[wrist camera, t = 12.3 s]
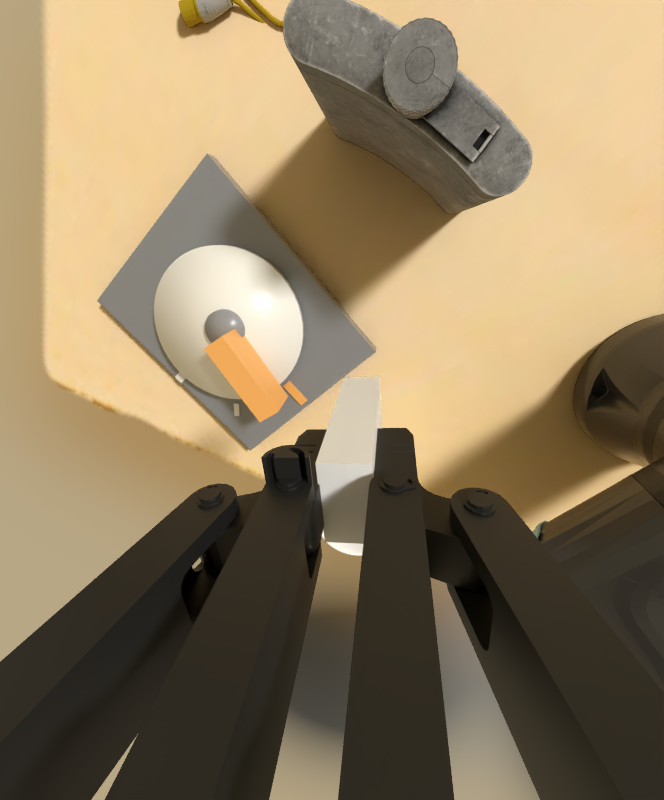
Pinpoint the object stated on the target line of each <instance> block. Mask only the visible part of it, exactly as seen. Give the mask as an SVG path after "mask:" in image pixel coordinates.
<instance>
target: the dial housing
mask: <svg viewBox="0 0 664 800" xmlns="http://www.w3.org/2000/svg"><path fill="white" fill-rule="evenodd" d="M210 245H230V246H237V247H240V248H244V249H247V250H249V251H252V252H254V253H256V254H258V255H260V256H261V257H263V258H264V259H266V260H268V261H269V262H270V263H271V264H272V265H274V266H275V267H276V268H277V269H278V270H279V271H280V272H281V273H282V274H283V275H284V277H285V278H286V279H287V281H288V282H289V284H290V285H291V287H292V289H293V290H294V292H295V294H296V296H297V299H298V301H299V303H300V307H301V310H302V314H303V320H304V342H303V347H302V351H301V354H300V357H299V359H298V362H297V363H296V365H295V367H294V369H293V370H292V371H291V373H290V374H289V375H288V377H287V378H286V379H285V380H284V381H283V382H282V383H281V384H280V386H281V387H282V388H283V390H284V391H285V392H286V394H287V395H288V398H287V399H286V401H285V402H284V404H283V405H282V407H281V408H280V410H279V411H278V412H277V413H276V414H274V415H272V416H270V417H269V418H267V419H265V420H263V421H262V422H259V421H258V420H257V418H256V417H255V416H254V414H253V413H252V412H251V410H250V409H249V408H248V406H247V405H246V404H245V403H244V401H243V400H242V399H229V398H224V397H220V396H216V395H213V394H211V393H208V392H206V391H204V390H202V389H201V388H199V387H197V386H195V385H194V384H193V383H191V382H190V381H189V380H187V379H186V378H185V377H184V376H183V375H182V374H181V373H180V372H179V371H178V370H177V369H176V368H175V366H174V365H173V364H172V362H171V361H170V360H169V358H168V357H167V355H166V353H165V351H164V350H163V347H162V345H161V343H160V341H159V337H158V334H157V331H156V326H155V321H154V300H155V295H156V291H157V288H158V285H159V282H160V280H161V278H162V276H163V274H164V273H165V271H166V270H167V269H168V267H169V266H170V265H171V264H172V263H173V262H174V261H175V260H176V259H177V258H179V257H180V256H182V255H183V254H185V253H187V252H189V251H191V250H193V249H196V248H199V247H203V246H210ZM97 301H98V302H99V303H100V304H101V305H102V306H103V307H104V308H105V309H106V310H107V311H108V312H109V313H110V314H111V315H112V316H113V317H114V318H115V319H116V320H117V321H118V322H119V323H120V324H121V325H122V326H123V327H124V328H126V329H127V330H128V331H129V332H130V333H131V334H132V335H133V336H134V337H135V338H136V339H137V340H138V341H139V342H140V343H141V344H142V345H143V346H144V347H145V348H146V349H147V350H148V351H149V352H150V353H151V354H152V355H153V356H154V357H155V358H156V359H157V360H158V361H159V362H160V363H161V364H162V365H163V366H164V367H165V368H166V369H167V370H168V371H170V372H171V373H172V374H173V375H174V376H175V378H176V379H177V380H178V381H179V382H180V383H182V384H183V385H184V386H185V387H186V388H187V389H188V390H189V391H190V392H191V393H192V394H193V395H194V396H195V397H196V398H197V399H198V400H199V401H200V402H201V403H202V404H203V405H204V406H205V407H206V408H207V409H208V410H209V411H210V412H211V413H212V414H214V415H215V416H216V417H217V418H218V419H219V420H220V421H221V422H222V423H223V424H224V425H225V426H226V427H227V428H228V429H229V430H230V431H231V432H232V433H233V434H234V435H235V436H236V437H237V438H238V439H239V440H240V441H241V442H242V443H243V444H244V445H245V446H246V447H247V448H248V449H249V450H252V449H253V448H254V447H256V446H257V445H258V444H259V443H261V442H262V441H263V440H264V439H266V438H267V437H268V436H269V435H271V434H272V433H273V432H275V431H276V430H277V429H278V428H280V427H281V426H282V425H283V424H285V423H286V422H287V421H288V420H290V419H291V418H292V417H294V416H295V415H296V414H297V413H299V412H300V411H301V410H302V409H304V408H305V407H306V406H308V405H309V404H310V403H311V402H313V401H314V400H315V399H316V398H318V397H319V396H320V395H321V394H323V393H324V392H325V391H327V390H328V389H329V388H330V387H332V386H333V385H334V384H335V383H337V382H338V381H339V380H340V379H342V378H343V377H344V376H346V375H347V374H348V373H349V372H351V371H352V370H353V369H354V368H356V367H357V366H358V365H360V364H361V363H362V362H363V361H365V360H366V359H367V358H368V357H370V356H371V355H372V354H373V353H375V352H376V347H375V346H374V345H373V343H372V342H371V341H370V340H369V339H368V338H367V336H366V335H365V334H364V333H363V332H362V331H361V329H360V328H359V327H358V326H357V325H356V323H355V322H354V321H353V320H352V319H351V318H350V316H349V315H348V314H347V313H346V312H345V310H344V309H343V308H342V307H341V306H340V305H339V303H338V302H337V301H336V300H335V299H334V297H333V296H332V295H331V294H330V293H329V292H328V290H327V289H326V288H325V287H324V286H323V284H322V283H321V282H320V281H319V280H318V279H317V277H316V276H315V275H314V274H313V273H312V271H311V270H310V269H309V268H308V267H307V266H306V264H305V263H304V262H303V261H302V260H301V258H300V257H299V256H298V255H297V254H296V253H295V251H294V250H293V249H292V248H291V247H290V246H289V244H288V243H287V242H286V241H285V240H284V238H283V237H282V236H281V235H280V234H279V233H278V231H277V230H276V229H275V228H274V227H273V225H272V224H271V223H270V222H269V221H268V220H267V218H266V217H265V216H264V215H263V214H262V212H261V211H260V210H259V209H258V208H257V207H256V205H255V204H254V203H253V202H252V201H251V199H250V198H249V197H248V196H247V195H246V194H245V192H244V191H243V190H242V189H241V188H240V186H239V185H238V184H237V183H236V182H235V181H234V179H233V178H232V177H231V176H230V175H229V173H228V172H227V171H226V170H225V169H224V168H223V166H222V165H221V164H220V163H219V162H218V161H217V159H216V158H215V157H214V156H211V155H209V154H206V156H205V157H204V158H203V160H202V161H201V162H200V164H199V165H198V166H197V168H196V169H195V170H194V172H193V173H192V174H191V176H190V177H189V179H188V180H187V181H186V183H185V184H184V185H183V187H182V188H181V189H180V191H179V192H178V193H177V195H176V196H175V197H174V199H173V200H172V201H171V203H170V204H169V205H168V207H167V208H166V209H165V211H164V212H163V213H162V215H161V216H160V217H159V219H158V220H157V221H156V223H155V224H154V225H153V227H152V228H151V229H150V231H149V232H148V233H147V235H146V236H145V237H144V239H143V240H142V241H141V243H140V244H139V245H138V247H137V248H136V249H135V251H134V252H133V253H132V255H131V256H130V257H129V259H128V260H127V261H126V263H125V264H124V265H123V267H122V268H121V269H120V271H119V272H118V273H117V275H116V276H115V277H114V279H113V280H112V282H111V283H110V284H109V286H108V287H107V288H106V290H105V291H104V292H103V294H102V295H101V296H100V298H99V299H98V300H97Z"/></svg>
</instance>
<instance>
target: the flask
mask: <svg viewBox="0 0 664 800" xmlns="http://www.w3.org/2000/svg"><path fill="white" fill-rule="evenodd" d="M283 34H284V40H285V43H286V46H287V48H288V50H289V52H290V54H291V56H292V57H293V59H294V61H295V63H296V65H297V66H298V68H299V70H300V72H301V74H302V75H303V77H304V79H305V81H306V83H307V84H308V86H309V88H310V90H311V92H312V93H313V95H314V97H315V99H316V101H317V102H318V104H319V106H320V108H321V110H322V111H323V113H324V115H325V117H326V119H327V120H328V122H329V124H330V126H331V128H332V129H333V131H334V133H335V134H336V136H337V137H339V138H340V139H342V140H345V141H348V142H350V143H353V144H355V145H357V146H360V147H362V148H364V149H366V150H368V151H370V152H371V153H373V154H375V155H377V156H379V157H380V158H382V159H383V160H385V161H387V162H388V163H390V164H391V165H393V166H394V167H395V168H397V169H398V170H400V171H401V172H403V173H404V174H405V175H407V176H408V177H409V178H411V179H412V180H413V181H414V182H416V183H417V184H418V185H419V186H420V187H421V188H422V189H424V190H425V191H426V192H427V193H428V194H429V195H430V196H431V197H432V198H433V199H434V200H435V201H436V202H437V203H438V205H439V206H440V207H441V208H442V209H443V210H444V211H445V212H447V213H450V214H455V213H459V212H462V211H464V210H467V209H470V208H472V207H475V206H478V205H480V204H483V203H486V202H488V201H491V200H494V199H496V198H499V197H502V196H504V195H507V194H509V193H511V192H513V191H515V190H516V189H517V188H518V187H520V185H521V184H522V183H523V182H524V181H525V179H526V178H527V176H528V174H529V171H530V169H531V165H532V150H531V147H530V144H529V143H528V141H527V139H526V138H525V137H524V136H523V135H522V133H521V132H520V131H519V130H518V128H517V127H516V126H515V125H514V123H513V122H512V121H511V120H510V119H509V118H508V117H507V116H506V114H505V113H504V112H503V111H502V110H501V109H500V108H499V107H498V106H497V105H496V104H495V103H494V102H493V101H492V100H491V99H490V98H489V97H488V96H487V95H486V94H485V93H484V92H483V91H482V90H481V89H480V88H479V87H478V86H477V85H476V84H475V83H474V82H472V81H471V80H470V79H469V78H468V77H467V76H466V75H464V74H463V73H462V72H461V71H460V70H458V69H457V67H458V64H457V61H458V54H457V46H456V43H455V39H454V37H453V36H452V32H451V31H450V30H448V28H447V26H446V25H444V24H442V23H441V21H436V20H435V19H434V18H426V17H425V18H422V19H420V18H418V19H416V20H414V21H410V22H409V23H408V24H407V25H405V26H403V27H402V28H400V27H399V26H397V25H395V24H394V23H392V22H390V21H389V20H387V19H385V18H383V17H382V16H380V15H378V14H376V13H374V12H372V11H370V10H369V9H367V8H365V7H363V6H361V5H359V4H357V3H354V2H352V1H350V0H291V1H290V3H289V5H288V7H287V9H286V12H285V16H284V22H283Z"/></svg>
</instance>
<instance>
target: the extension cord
mask: <svg viewBox="0 0 664 800" xmlns="http://www.w3.org/2000/svg"><path fill="white" fill-rule="evenodd" d="M249 1H250V2H251V3H252V4H253V5H254V6H255V7H256V8H257V9H258V10H259V11H260V12H261V13H263V14H264V15H265V16H266V17H267V18H268V19H269V20H270V21H271V22H273V23H274V24H276V25H277V26H281V27H283V21H279V20H278V19H276V18H275V17H273V16H272V15H271V14H270V13H269V12H268V11H267V10H265V9H264V8H263V7H262V6H261V5H260V4H259V3H258V2H257V1H256V0H249ZM233 2H234V3H235V4H237V5H238V6H240V7H241V8H242V9H243V10H244V11H246V12H247V13H248V14H249V15H250V16H252V17H253V18H254V19H255V20H257V21H259V22H261V23H265V22H264V21H263V20H262V18H260V17H259V16H258V15H257V14H256V13H254V12H253V11H252V10H251V9H250V8H248V7H247V6H246V5H245V4H244V3H243V2H241V1H240V0H181V1H179V8H180V12H181V14H182V17H183V19H184V21H185V23H186V25H187V26H188V27H190V28H192V27H195V26H196V24H198V23H200V22H203V23H205V24H207V22H210V21H213V20H215V18H217V17H219V16H220V15H222V14H223V13H224V12H226V11H227V10H228V9H229V8H230V7H231V8H232V7H233Z"/></svg>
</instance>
